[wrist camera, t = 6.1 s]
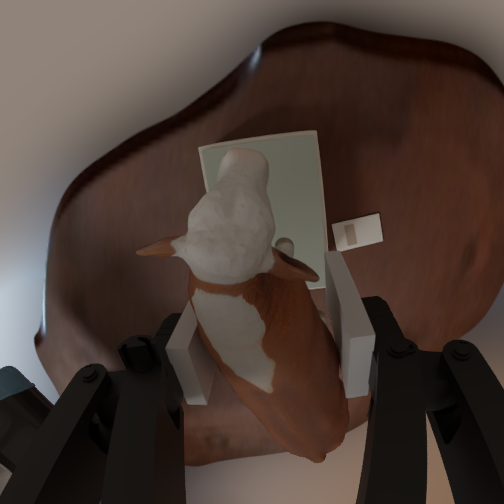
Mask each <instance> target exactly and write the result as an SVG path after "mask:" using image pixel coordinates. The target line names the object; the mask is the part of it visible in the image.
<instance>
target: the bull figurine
mask: <svg viewBox="0 0 504 504" xmlns="http://www.w3.org/2000/svg"><path fill="white" fill-rule="evenodd" d="M268 179H269V164H268V161H267V160H266V157H265V156H264V154H263V153H261V152H259V151H256V150H253V149H248V148H239V147H236V148H232V149H230V150H229V151H228V152H227V153H226V154H225V155H224V156H223V157H222V160H221V163H220V167H219V171H218V175H217V183H216V184H215V185H214V186H213V187H212V189H211V190H210V191H209V192H208V193H206V194H205V195H204V196H203V197H202V198H201V199H200V201H199V202H198V203H197V205H196V206H195V207H194V208H193V209H192V210H191V212H190V214H189V216H188V232H187V233H186V234H184V235H181V236H176V237H169V238H165V239H162V240H159V241H157V242H155V243H153V244H150V245H147V246H144V247H142V248H140V249H138V250H136V253H137V254H138V255H142V256H145V255H153V256H159V257H170V256H178V257H181V258H183V259H184V260H185V261H186V263H187V264H188V265H189V267H190V274H189V287H188V294H189V299H190V303H191V306H192V308H193V311H194V313H195V316H196V320H197V325H198V330H199V333H200V336H201V339H202V341H203V344H204V346H205V347H206V349H207V351H208V352H209V354H210V355H211V357H212V358H213V359H214V361H215V362H216V363H217V365H218V367H219V369H220V371H221V373H222V374H223V376H224V377H225V379H226V380H227V382H228V383H229V384H230V386H231V387H232V389H233V390H234V391H235V393H236V394H237V395H238V397H239V398H240V399H241V400H242V401H243V403H244V404H245V405H246V406H247V407H248V408H249V409H250V410H251V412H252V413H253V414H254V415H255V416H256V417H257V418H258V419H259V420H260V422H261V423H262V424H263V425H264V427H265V428H266V430H267V431H268V433H269V434H270V435H271V436H272V437H273V438H274V439H275V440H276V441H277V442H278V443H279V444H280V445H281V446H282V447H283V448H284V449H285V450H287V451H288V452H290V453H291V454H294V455H297V456H300V457H305V458H307V459H309V460H311V461H313V462H314V463H321V462H323V461H324V460H325V457H326V454H327V453H328V452H331V451H333V450H335V449H336V448H337V447H338V446H340V445H341V443H342V442H343V440H344V437H345V433H346V430H347V427H348V424H349V411H348V398H346V395H345V389H344V384H343V382H342V380H341V379H340V378H339V356H338V350H337V347H336V344H335V341H334V339H333V337H332V334H331V333H330V331H329V329H328V328H327V326H326V316H325V314H324V313H323V312H322V311H319V310H317V308H316V306H315V304H314V302H313V300H312V298H311V295H310V292H309V289H308V287H307V284H306V282H305V281H309V282H317V281H319V279H320V278H319V276H318V274H317V273H316V272H315V271H314V270H313V269H311V268H310V267H309V266H307V265H306V264H305V263H303V262H301V261H299V260H297V259H294V258H293V256H294V243H293V242H292V240H291V239H289V238H285V237H282V238H279V239H278V240H277V241H276V243H275V248H274V247H273V246H272V245H271V243H272V240H273V237H274V235H275V229H276V226H275V222H274V216H273V213H272V210H271V203H270V200H269V197H268V195H267V191H266V186H267V183H268Z"/></svg>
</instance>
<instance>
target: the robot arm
mask: <svg viewBox="0 0 504 504" xmlns="http://www.w3.org/2000/svg"><path fill="white" fill-rule="evenodd" d="M324 259H325V282H326V303H327V307H328V312H329V316H330V321H331V325H332V330H333V334H334V339H335V344H336V347H337V350H338V356H339V363H340V368H341V373H342V379H343V384H344V389H345V395H346V398H352V397H360V396H366V395H368V388H370V391H371V400H370V405H369V410H368V415H367V417H369V418H368V428H367V437H366V444H365V452H364V459H363V466H362V472H361V478H360V484H359V489H358V495H357V500H356V504H426V491H427V431H426V414H427V416H428V419H429V422H430V424H431V427H432V430H433V433H434V436H435V439H436V442H437V445H438V448H439V451H440V454H441V457H442V460H443V463H444V467H445V470H446V473H447V476H448V480H449V484H450V487H451V491H452V494H453V498H454V502H455V504H504V389H503V387H502V386H501V384H500V382H499V381H498V379H497V377H496V376H495V374H494V373H493V371H492V370H491V368H490V367H489V365H488V363H487V362H486V360H485V359H484V357H483V356H482V354H481V353H480V351H479V350H478V348H477V347H476V346H475V345H474V344H472V343H470V342H468V341H465V340H452V341H450V342H448V343H447V344H446V345H445V346H444V347H443V351H442V352H431V351H422V350H419V349H418V347H417V345H416V344H415V343H414V342H413V341H411V340H409V339H406V338H405V337H404V335H403V333H402V331H401V329H400V327H399V325H398V323H397V321H396V319H395V317H394V315H393V314H392V312H391V311H390V308H389V306H388V304H387V302H386V301H384V300H383V299H382V298H380V297H379V296H373V297H365V298H360V295H359V293H358V291H357V288H356V286H355V284H354V281H353V279H352V277H351V274H350V272H349V270H348V268H347V265H346V263H345V261H344V259H343V257H342V254H341V252H340V250H339V251H329V252H324ZM118 351H119V354H120V356H121V358H122V360H123V362H124V364H125V366H126V370H123V371H118V372H112V373H108V372H107V370H106V368H105V367H104V366H103V365H101V364H98V363H97V364H89V365H86V366H85V367H83V368H81V369H80V370H79V371H78V372H77V373H76V374H75V376H74V377H73V379H72V380H71V382H70V383H69V384H68V386H67V387H66V389H65V390H64V392H63V393H62V395H61V396H60V398H59V399H58V401H57V402H56V404H55V405H53V404H52V403H51V402H50V401H49V400H48V399H47V398H46V397H45V396H44V395H43V394H42V393H41V392H40V391H39V390H37V388H36V387H35V384H34V383H31V382H30V381H29V380H28V379H27V378H26V377H24V375H23V374H21V372H20V371H19V370H18V369H16V368H15V367H12V366H6V367H3V368H1V369H0V504H186V491H185V465H184V412H183V408H182V406H181V404H180V403H181V400H182V397H183V395H184V397H185V400H186V402H187V404H190V405H208V401H209V397H210V393H211V389H212V385H213V381H214V378H215V374H216V370H217V366H218V365H217V363H216V362H215V361H214V359H213V358H212V357H211V355H210V354H209V352H208V351H207V349H206V347H205V346H204V344H203V341H202V339H201V336H200V333H199V330H198V325H197V320H196V316H195V313H194V311H193V308H192V306H191V303H190V299H189V301H188V303H187V305H186V307H185V309H184V311H183V313H172V314H171V315H170V316H168V317H167V318H166V319H165V320H164V321H163V323H162V325H161V326H160V329H159V330H158V332H157V333H156V336H155V337H154V339H153V338H152V337H151V336H147V335H137V336H133V337H130V338H128V339H126V340H125V341H123V342H122V343H121V344H120V345H119V347H118ZM425 411H426V412H425Z"/></svg>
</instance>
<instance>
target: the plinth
mask: <svg viewBox="0 0 504 504" xmlns="http://www.w3.org/2000/svg"><path fill="white" fill-rule="evenodd" d="M236 147H239V148H248V149H253V150H256V151H259V152H261V153H263V154H264V156H265V157H266V160H267V161H268V164H269V179H268V183H267V186H266V191H267V195H268V197H269V200H270V203H271V210H272V213H273V216H274V222H275V226H276V229H275V235H274V237H273V240H272V243H271V245H272V246H273V247H274V248H275V243H276V241H277V240H278V239H279V238H282V237H285V238H289V239H291V240H292V242H293V243H294V256H293V258H294V259H297V260H299V261H301V262H303V263H305V264H306V265H307V266H309V267H310V268H311V269H313V270H314V271H315V272H316V273H317V274H318V276H319V278H320V279H319V281H317V282H309V281H305V282H306V284H307V287H308V289H317V288H326V282H325V259H324V252H328V241H327V227H326V214H325V202H324V191H323V181H322V172H321V163H320V154H319V146H318V138H317V131H313V130H307V131H297V132H288V133H280V134H272V135H264V136H257V137H250V138H243V139H237V140H231V141H225V142H219V143H214V144H210V145H206V146H202V147H198V149H199V155H200V160H201V166H202V171H203V177H204V182H205V187H206V193H208V192H209V191H210V190H211V189H212V187H213V186H214V185H215V184H216V183H217V175H218V171H219V167H220V163H221V160H222V157H223V156H224V155H225V154H226V153H227V152H228V151H229V150H230V149H232V148H236Z"/></svg>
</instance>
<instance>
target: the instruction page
mask: <svg viewBox="0 0 504 504" xmlns="http://www.w3.org/2000/svg"><path fill="white" fill-rule="evenodd" d="M331 225H332V229H333V234H334V239H335V244H336V249H337V251H339V250H340V251H344V250H348V249H352V248H357V247H361V246H365V245H369V244H373V243H377V242H381V241H383V237H382V230H381V223H380V217H379V213H377V214H372V215H368V216H364V217H360V218H355V219H351V220H347V221H343V222H339V223H334V224H331Z"/></svg>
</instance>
